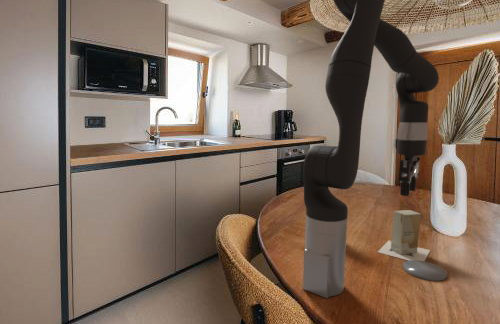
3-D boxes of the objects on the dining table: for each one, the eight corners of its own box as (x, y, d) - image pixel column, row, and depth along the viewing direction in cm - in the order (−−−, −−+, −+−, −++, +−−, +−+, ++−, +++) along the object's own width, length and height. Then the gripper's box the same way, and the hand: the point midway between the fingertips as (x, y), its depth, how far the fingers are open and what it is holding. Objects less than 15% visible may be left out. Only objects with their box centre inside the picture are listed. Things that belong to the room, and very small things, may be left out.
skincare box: (400, 255, 87) (403, 214, 85) (390, 249, 91) (392, 210, 89) (418, 252, 88) (421, 213, 87) (407, 247, 93) (410, 209, 91)
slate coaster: (444, 285, 71) (444, 283, 71) (398, 272, 77) (398, 269, 77) (449, 269, 78) (449, 267, 78) (407, 258, 85) (407, 256, 85)
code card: (422, 264, 81) (422, 264, 81) (377, 252, 89) (377, 251, 89) (430, 250, 90) (430, 250, 90) (388, 240, 98) (388, 240, 98)
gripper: (422, 139, 78) (417, 199, 80) (431, 137, 89) (426, 190, 91) (391, 138, 82) (387, 195, 85) (403, 137, 93) (400, 187, 95)
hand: (408, 193), depth 88 cm, fingers open, 8 cm apart
